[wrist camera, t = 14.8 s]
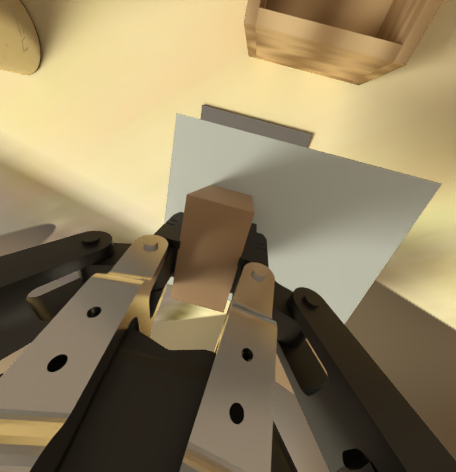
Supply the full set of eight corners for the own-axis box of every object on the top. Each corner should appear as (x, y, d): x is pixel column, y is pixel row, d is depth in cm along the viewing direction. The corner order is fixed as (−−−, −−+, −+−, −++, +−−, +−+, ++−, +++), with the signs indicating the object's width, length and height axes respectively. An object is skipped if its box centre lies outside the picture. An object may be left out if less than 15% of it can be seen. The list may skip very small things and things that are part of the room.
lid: (169, 266, 16) (117, 330, 9) (189, 123, 11) (119, 66, 5) (327, 309, 15) (381, 403, 9) (406, 181, 11) (603, 194, 5)
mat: (193, 191, 32) (192, 192, 31) (202, 105, 25) (202, 104, 24) (277, 214, 31) (277, 215, 31) (311, 134, 24) (312, 134, 24)
